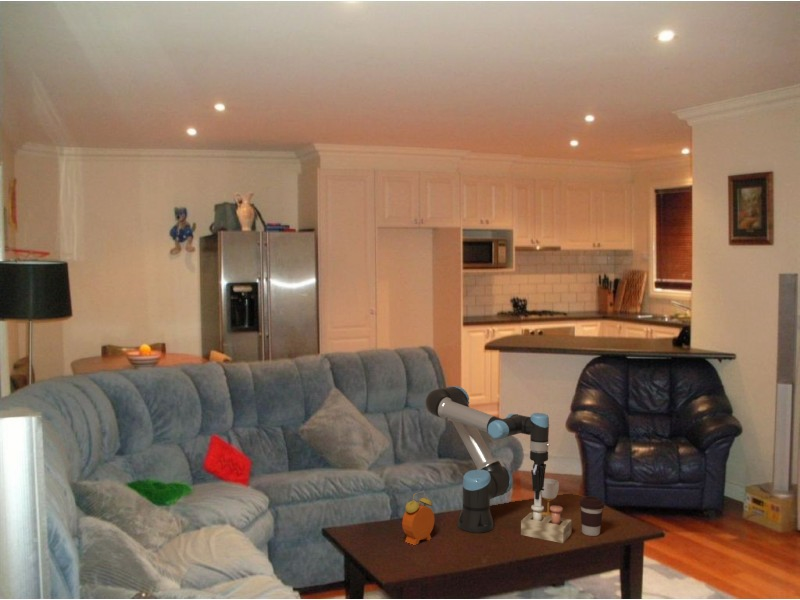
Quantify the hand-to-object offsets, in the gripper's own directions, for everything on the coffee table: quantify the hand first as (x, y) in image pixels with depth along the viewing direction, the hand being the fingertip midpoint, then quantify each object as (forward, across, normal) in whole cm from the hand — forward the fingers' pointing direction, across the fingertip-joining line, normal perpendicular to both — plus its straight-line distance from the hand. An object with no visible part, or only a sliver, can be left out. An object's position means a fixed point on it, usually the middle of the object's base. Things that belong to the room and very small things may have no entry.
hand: (537, 505), depth 314 cm
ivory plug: (+9, 0, 0) cm, 9 cm away
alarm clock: (+12, -34, +39) cm, 53 cm away
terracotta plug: (+8, 0, -8) cm, 11 cm away
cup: (+12, +22, +2) cm, 25 cm away
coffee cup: (+12, +11, -20) cm, 26 cm away
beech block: (+12, 0, -4) cm, 12 cm away
